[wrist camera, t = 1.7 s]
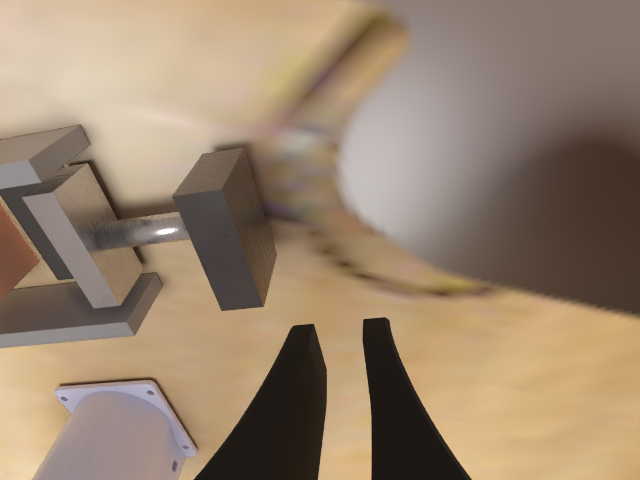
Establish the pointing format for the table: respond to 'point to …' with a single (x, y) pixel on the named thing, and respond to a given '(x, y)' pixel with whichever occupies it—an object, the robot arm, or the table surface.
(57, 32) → the table surface
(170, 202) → the table surface
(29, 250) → the block
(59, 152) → the channel
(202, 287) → the table surface
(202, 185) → the rod with end blocks
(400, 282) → the table surface
